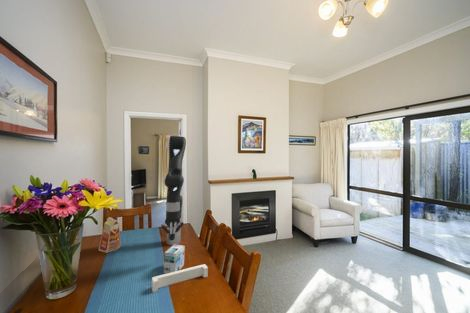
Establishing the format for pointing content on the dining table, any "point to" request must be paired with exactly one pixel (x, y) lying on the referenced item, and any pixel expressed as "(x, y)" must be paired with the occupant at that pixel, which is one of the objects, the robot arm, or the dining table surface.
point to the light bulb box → (174, 258)
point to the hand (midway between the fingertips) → (171, 239)
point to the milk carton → (110, 236)
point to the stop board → (178, 276)
